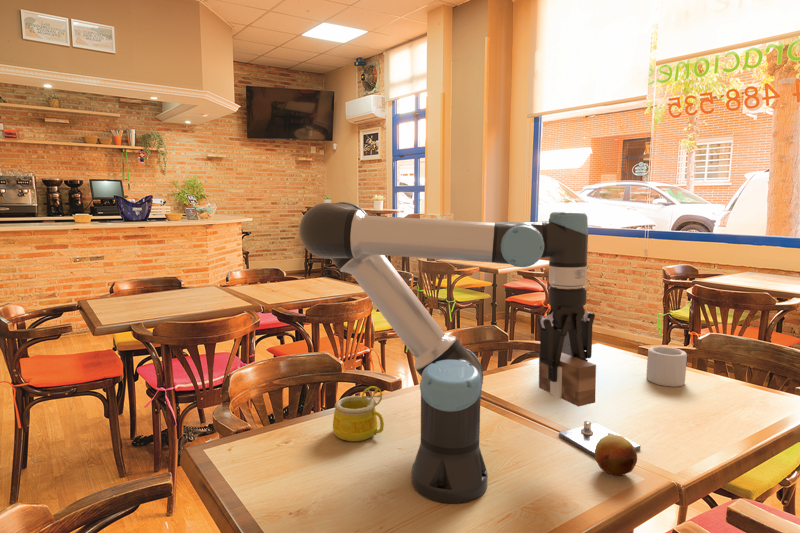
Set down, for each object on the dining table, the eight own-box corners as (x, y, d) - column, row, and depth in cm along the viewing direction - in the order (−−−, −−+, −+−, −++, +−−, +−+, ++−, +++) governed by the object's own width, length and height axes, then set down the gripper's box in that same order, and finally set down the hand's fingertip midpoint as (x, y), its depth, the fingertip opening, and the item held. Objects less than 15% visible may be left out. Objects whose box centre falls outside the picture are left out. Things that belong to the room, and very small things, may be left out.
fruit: (644, 479, 100) (646, 442, 99) (610, 486, 98) (612, 448, 97) (618, 461, 108) (620, 426, 107) (585, 467, 105) (587, 431, 104)
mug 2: (692, 387, 151) (694, 355, 150) (656, 387, 151) (658, 355, 150) (668, 372, 165) (670, 343, 163) (636, 372, 165) (637, 343, 164)
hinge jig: (601, 461, 108) (602, 446, 107) (558, 436, 119) (559, 422, 119) (640, 449, 113) (641, 435, 112) (595, 426, 124) (596, 413, 124)
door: (595, 402, 102) (595, 364, 101) (578, 406, 100) (578, 368, 99) (554, 384, 113) (555, 350, 112) (538, 387, 111) (539, 352, 110)
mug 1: (324, 440, 117) (323, 391, 116) (345, 421, 127) (344, 376, 126) (374, 449, 113) (374, 399, 111) (391, 429, 123) (391, 382, 121)
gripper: (546, 292, 97) (544, 407, 100) (612, 284, 104) (609, 392, 107) (521, 286, 104) (521, 394, 106) (586, 280, 111) (583, 381, 113)
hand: (565, 393), depth 106 cm, fingers closed on door, 4 cm apart
